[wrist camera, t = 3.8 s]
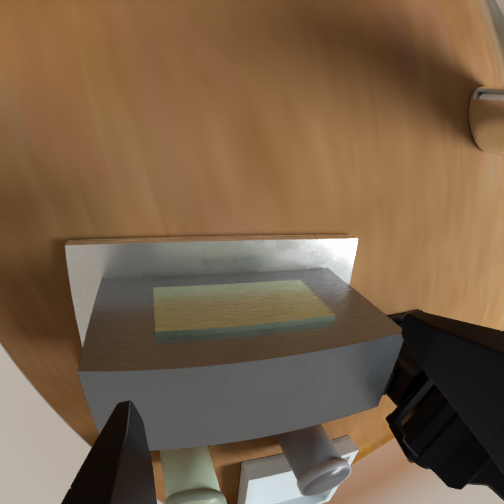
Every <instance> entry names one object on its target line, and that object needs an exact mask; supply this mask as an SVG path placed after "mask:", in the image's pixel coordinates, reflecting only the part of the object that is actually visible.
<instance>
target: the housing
mask: <svg viewBox="0 0 504 504" xmlns="http://www.w3.org/2000/svg"><path fill="white" fill-rule="evenodd" d="M357 242H358V238H356V237H354V236H352V235H351V234H301V235H226V236H178V237H139V238H107V239H78V240H68V242H67V243H66V244H65V252H66V260H67V268H68V275H69V281H70V288H71V294H72V299H73V305H74V310H75V315H76V320H77V325H78V330H79V334H80V339H81V343H82V347H83V348H82V353H81V357H80V362H79V366H78V371H77V372H78V375H79V378H80V382H81V385H82V388H83V391H84V394H85V397H86V400H87V403H88V406H89V408H90V411H91V414H92V417H93V419H94V422H95V425H96V427H97V430H98V432H99V434H100V433H101V431H102V429H103V427H104V426H105V424H106V422H107V420H108V419H109V417H110V415H111V413H112V412H113V410H114V408H115V407H116V405H117V403H119V402H122V401H128V400H130V401H132V402H133V403H134V405H135V407H136V409H137V410H138V412H139V414H140V415H141V417H142V420H143V423H144V427H145V433H146V438H147V443H148V447H149V451H154V450H170V449H183V448H193V447H202V446H211V445H218V444H225V443H232V442H238V441H245V440H250V439H256V438H261V437H266V436H271V435H276V434H281V433H285V432H290V431H294V430H298V429H303V428H307V427H311V426H314V425H318V424H322V423H326V422H329V421H333V420H336V419H340V418H343V417H346V416H350V415H353V414H356V413H359V412H362V411H365V410H368V409H371V408H374V407H377V406H378V404H379V402H380V399H381V397H382V395H383V392H384V390H385V388H386V385H387V383H388V380H389V378H390V375H391V373H392V370H393V368H394V365H395V362H396V360H397V357H398V354H399V352H400V349H401V346H402V343H403V341H404V340H403V338H402V328H401V327H399V326H398V325H397V324H396V323H395V322H393V321H392V320H391V319H390V318H389V317H387V316H386V315H385V314H384V313H383V312H381V311H380V310H379V309H378V308H377V307H375V306H374V305H373V304H372V303H371V302H369V301H368V300H367V299H366V298H364V297H363V296H362V295H361V294H360V293H358V292H357V291H356V290H355V289H353V288H352V287H351V286H350V285H349V284H350V279H351V274H352V269H353V264H354V259H355V253H356V248H357Z"/></svg>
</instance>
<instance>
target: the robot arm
mask: <svg viewBox="0 0 504 504" xmlns="http://www.w3.org/2000/svg"><path fill="white" fill-rule="evenodd" d="M389 318H390V319H391V320H392V321H393V322H395V323H396V324H397V325H398V326H399V327H401V328H402V338H403V340H404V341H403V343H402V346H401V349H400V352H399V354H398V357H397V360H396V362H395V365H394V368H393V370H392V373H391V375H390V378H389V380H388V383H387V385H386V388H385V390H384V392H383V395H386V394H387V395H388V397H389V398H390V399H391V400H392V401H393V402H394V403H395V405H396V406H397V408H396V409H395V410H394V411H393V412H392V413H390V414H389V415H388V416H387V417H386V420H387V422H388V424H389V427H390V429H391V431H392V433H393V434H394V436H395V438H396V439H397V441H398V443H399V445H400V447H401V449H402V450H403V452H404V454H405V456H406V457H407V459H408V461H409V462H411V463H416V464H417V465H419V466H421V467H423V468H425V469H431V470H432V471H433V472H435V473H436V474H437V476H439V478H440V479H441V480H442V481H443V482H444V483H445V484H446V485H447V486H448V487H451V488H455V489H462V488H463V487H465V485H467V484H472V485H486V486H488V487H489V488H490V489H492V490H493V491H494V492H495V493H496V494H497V495H498V496H499V497H500V498H501V499H503V500H504V331H501V330H496V329H492V328H488V327H483V326H479V325H475V324H471V323H467V322H462V321H458V320H454V319H450V318H446V317H442V316H438V315H433V314H429V313H425V312H423V311H422V310H418V311H417V310H413V311H411V312H408V313H404V314H399V315H394V316H389ZM61 504H157V500H156V492H155V483H154V474H153V466H152V461H151V457H150V452H149V447H148V443H147V438H146V433H145V427H144V423H143V420H142V417H141V415H140V414H139V412H138V410H137V409H136V407H135V405H134V403H133V402H132V401H130V400H128V401H122V402H119V403H117V405H116V407H115V408H114V410H113V412H112V413H111V415H110V417H109V419H108V420H107V422H106V424H105V426H104V427H103V429H102V431H101V433H100V434H99V436H98V438H97V440H96V441H95V443H94V445H93V447H92V448H91V450H90V452H89V454H88V456H87V458H86V459H85V461H84V463H83V465H82V466H81V468H80V470H79V472H78V474H77V475H76V478H75V479H74V481H73V483H72V485H71V489H69V490H68V492H67V494H66V496H65V497H64V499H63V501H62V503H61Z"/></svg>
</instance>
